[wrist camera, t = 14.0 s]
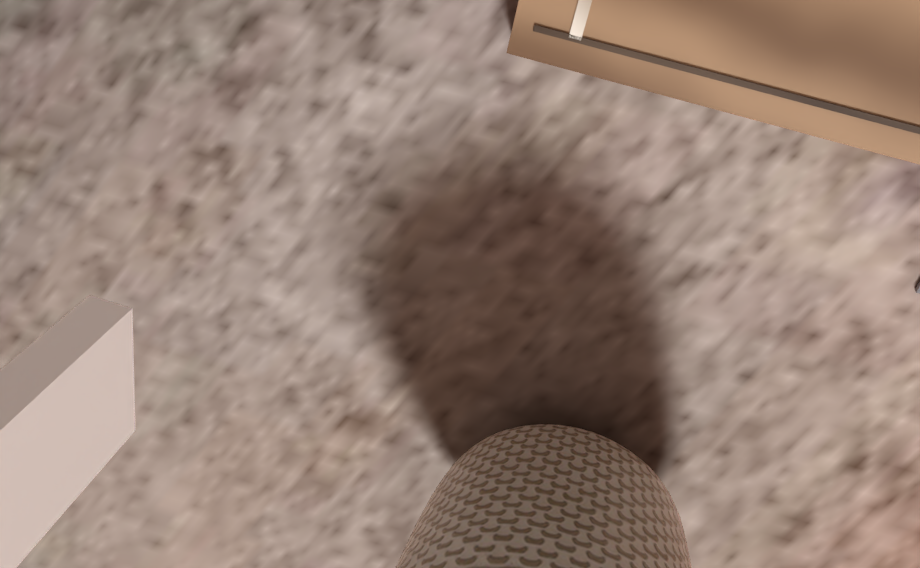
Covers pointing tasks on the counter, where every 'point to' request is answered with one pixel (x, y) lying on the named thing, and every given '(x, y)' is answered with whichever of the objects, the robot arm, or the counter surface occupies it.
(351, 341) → the counter surface
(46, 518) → the robot arm
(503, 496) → the planter
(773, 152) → the counter surface
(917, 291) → the end pad
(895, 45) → the board
